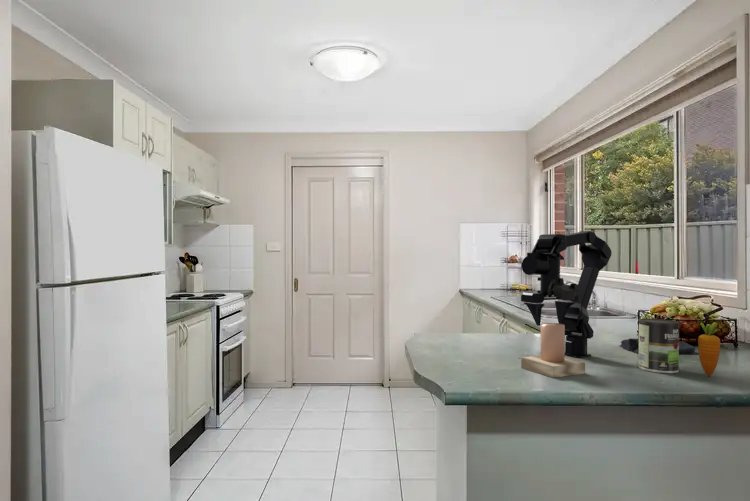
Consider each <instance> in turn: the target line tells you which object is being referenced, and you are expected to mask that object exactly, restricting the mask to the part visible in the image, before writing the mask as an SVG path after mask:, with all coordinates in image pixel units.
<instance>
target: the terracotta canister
mask: <svg viewBox="0 0 750 501" xmlns="http://www.w3.org/2000/svg"><path fill="white" fill-rule="evenodd" d="M565 341H566V335H565V325H564V324H559V322H542V323H540V355H541V360H543V361H548V362H564V361H565V356H566V355H565Z"/></svg>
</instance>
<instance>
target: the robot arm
mask: <svg viewBox="0 0 750 501" xmlns="http://www.w3.org/2000/svg"><path fill="white" fill-rule="evenodd" d="M574 246H578V251H579V252H580V254H581V260H582V264H583V268H582V270H581V274H580V277H579V280H578V283H570V284H565V283H564V282H565V281H564V278H563V277H562V278H561V261H564V260H565V257H564V256H563V255H562V254H561V253H562V252H564V251H565V250H567V248H568V247H574ZM612 253H613V252H612V250H611V247H610V246H609V245H608V243H607V242H606V241H605V240H604V239H602V238H600V237H599V236H597V235H596V233H595V232H594V231H591V230H581V231H577V232H573V233H567V234H561V233H551V234H550V233H548V234H545V233H544V234H540V235H539V236H538V239H537V241H536V242H535V245H534V246H533V249H532V250H531V252H530V251H529V252H526V256H524V258H523V259H522V261H521V265H520V266H521V270H522V272H523V273H524V274H525V275H528V276H537V275H539V276H537V281H540V285H539V288H540V290H539V289H538V290H537V292H533V291H532V292H531V291H529V292H524V291H523V292H522V293H521V294H520V302H523V303H524V305H526V307H527V309H528V310H529V312H530V314H531V316H532V318H533V320H534V322H535V325H536V326H538V327H539V326H540V327H541V322H542V309H543V307H545V305H546V304H545V303H544V301H551V300H552V301H554V306H555V311H556V317H557V323H559V324H564V325H565V356H569V357H574V358H585V357H591V356H592V354H591V353H588V340H589V339H592V338H593V337H594V333H595V332H594V330H593V328H592V327H591V326H592V325H591V324H590V322H589V320H590V316H589V313H588V306H589V304H590V301H591V297H592V294H593V292H594V288H595V286H596V283H597V279H598V276H599V273H600V271H601V270H602V269H604V268H605V267H606V266H608V263H609V261H610V259H611V257H612Z"/></svg>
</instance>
